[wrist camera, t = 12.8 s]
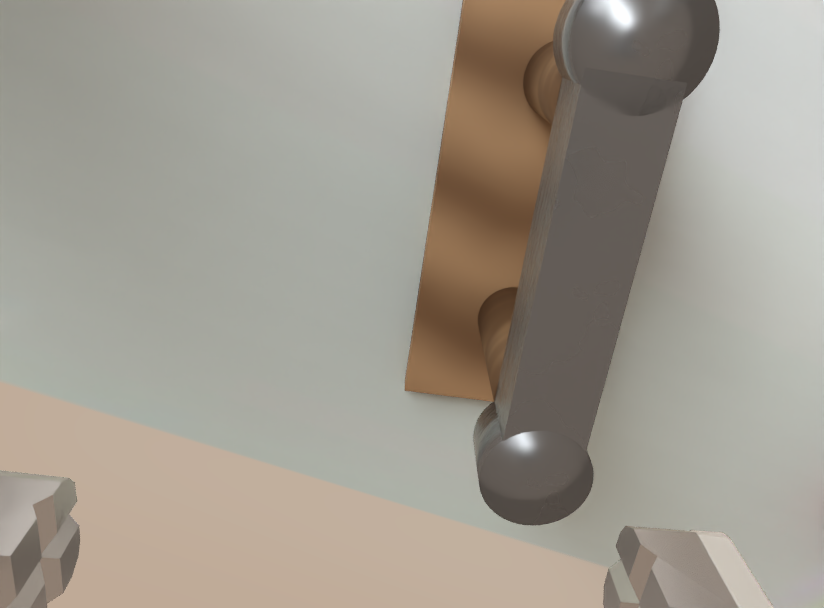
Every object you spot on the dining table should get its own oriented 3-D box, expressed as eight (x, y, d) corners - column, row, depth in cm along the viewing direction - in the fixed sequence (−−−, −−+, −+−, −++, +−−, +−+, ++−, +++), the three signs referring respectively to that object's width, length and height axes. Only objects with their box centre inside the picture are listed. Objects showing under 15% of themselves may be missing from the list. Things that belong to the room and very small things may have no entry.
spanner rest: (471, -55, 31) (492, -84, 22) (691, -21, 31) (794, -36, 23) (405, 379, 39) (401, 480, 30) (579, 401, 39) (624, 506, 31)
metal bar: (568, -44, 23) (590, -53, 20) (699, -24, 23) (739, -29, 20) (465, 472, 30) (470, 518, 27) (564, 484, 30) (579, 530, 28)
